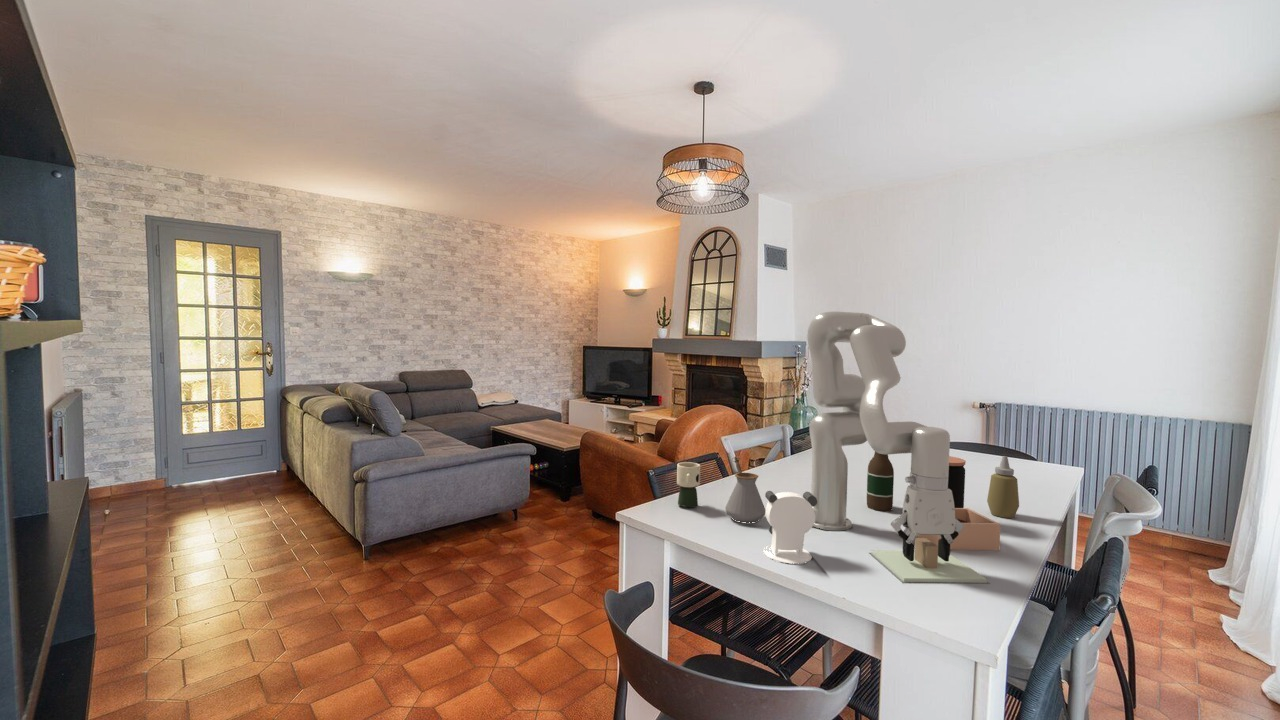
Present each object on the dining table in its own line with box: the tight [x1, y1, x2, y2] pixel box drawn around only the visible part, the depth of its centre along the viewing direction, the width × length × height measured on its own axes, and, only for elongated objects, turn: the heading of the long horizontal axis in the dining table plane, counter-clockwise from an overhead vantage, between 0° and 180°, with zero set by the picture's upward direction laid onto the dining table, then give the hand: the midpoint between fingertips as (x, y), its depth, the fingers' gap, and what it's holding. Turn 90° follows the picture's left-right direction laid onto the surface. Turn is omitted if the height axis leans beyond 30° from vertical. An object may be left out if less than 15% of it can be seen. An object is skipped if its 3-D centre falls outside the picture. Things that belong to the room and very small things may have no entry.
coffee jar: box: [948, 455, 966, 508], centre depth 156 cm, size 11×11×18 cm
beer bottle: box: [866, 451, 895, 512], centre depth 165 cm, size 8×8×24 cm
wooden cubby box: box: [916, 507, 1001, 552], centre depth 138 cm, size 16×13×7 cm
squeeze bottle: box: [986, 455, 1020, 519], centre depth 160 cm, size 8×8×18 cm
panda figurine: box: [762, 490, 817, 565], centre depth 128 cm, size 12×11×15 cm
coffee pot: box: [724, 455, 766, 524], centre depth 157 cm, size 21×12×15 cm, turn 2°
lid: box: [870, 537, 988, 583], centre depth 120 cm, size 18×15×6 cm
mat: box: [868, 552, 991, 585], centre depth 120 cm, size 19×16×1 cm
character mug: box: [676, 461, 701, 508], centre depth 163 cm, size 11×7×13 cm, turn 175°
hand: (925, 558), depth 120 cm, fingers open, 7 cm apart
